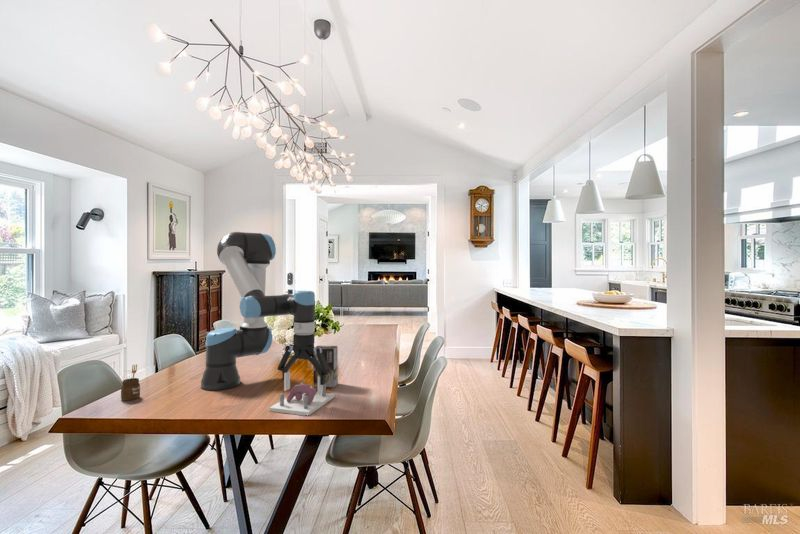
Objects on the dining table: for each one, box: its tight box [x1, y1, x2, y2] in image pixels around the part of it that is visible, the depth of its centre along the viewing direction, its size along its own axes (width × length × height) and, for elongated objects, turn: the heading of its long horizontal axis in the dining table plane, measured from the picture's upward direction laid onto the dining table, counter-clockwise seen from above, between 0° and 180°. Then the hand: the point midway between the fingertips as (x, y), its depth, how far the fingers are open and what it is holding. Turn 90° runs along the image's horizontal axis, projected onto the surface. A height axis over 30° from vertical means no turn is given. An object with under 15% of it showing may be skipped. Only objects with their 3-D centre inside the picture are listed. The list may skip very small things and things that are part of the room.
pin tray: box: [268, 382, 335, 417], centre depth 142 cm, size 15×20×5 cm
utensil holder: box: [120, 364, 141, 402], centre depth 147 cm, size 6×6×12 cm
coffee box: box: [312, 345, 339, 388], centre depth 165 cm, size 9×6×16 cm
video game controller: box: [286, 383, 317, 405], centre depth 141 cm, size 10×5×7 cm, turn 72°
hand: (303, 391), depth 142 cm, fingers open, 13 cm apart
